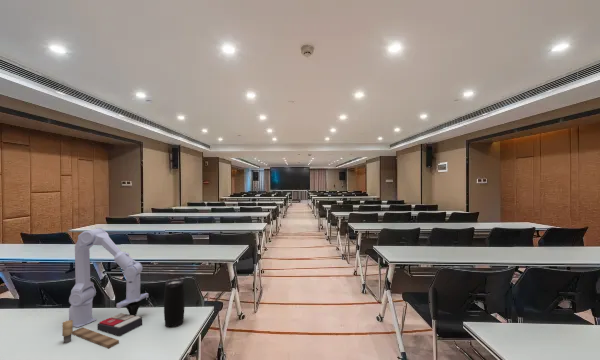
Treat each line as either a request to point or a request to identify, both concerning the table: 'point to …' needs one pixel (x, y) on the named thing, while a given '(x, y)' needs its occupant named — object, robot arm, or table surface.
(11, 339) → the table surface
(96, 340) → the board
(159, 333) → the table surface
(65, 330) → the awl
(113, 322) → the calculator
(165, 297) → the portable speaker
